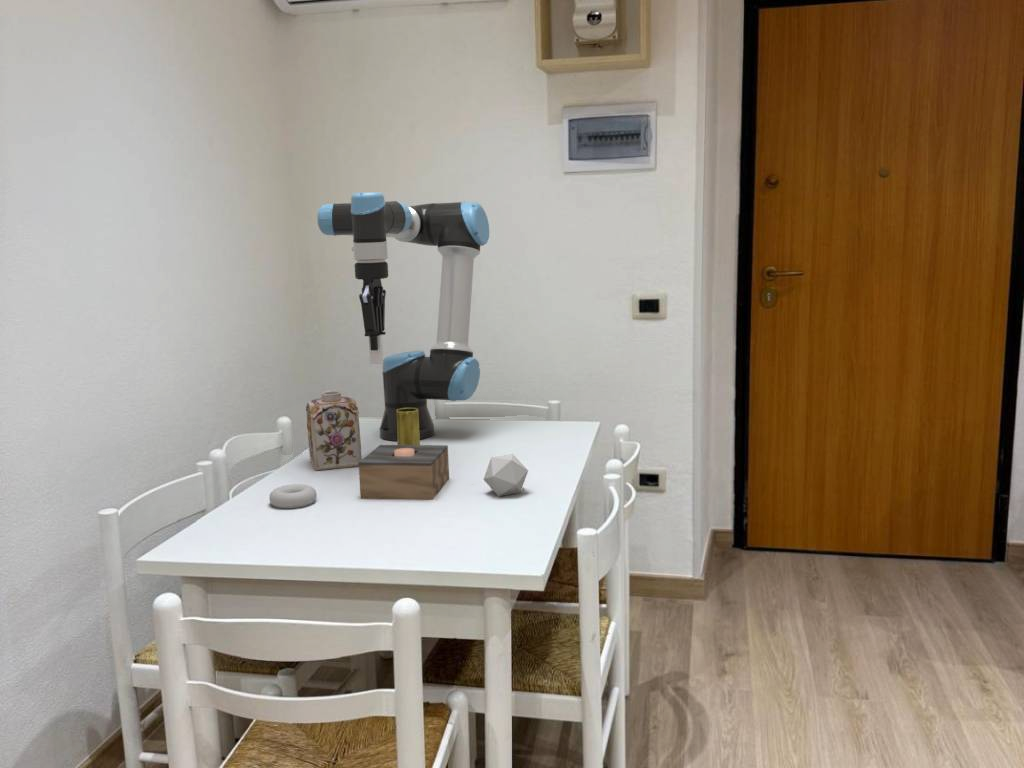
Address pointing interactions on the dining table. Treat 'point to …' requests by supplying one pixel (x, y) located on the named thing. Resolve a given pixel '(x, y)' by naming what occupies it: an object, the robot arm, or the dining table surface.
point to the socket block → (404, 472)
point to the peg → (404, 452)
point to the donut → (292, 496)
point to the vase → (408, 426)
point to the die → (505, 475)
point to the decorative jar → (333, 431)
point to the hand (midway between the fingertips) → (376, 363)
